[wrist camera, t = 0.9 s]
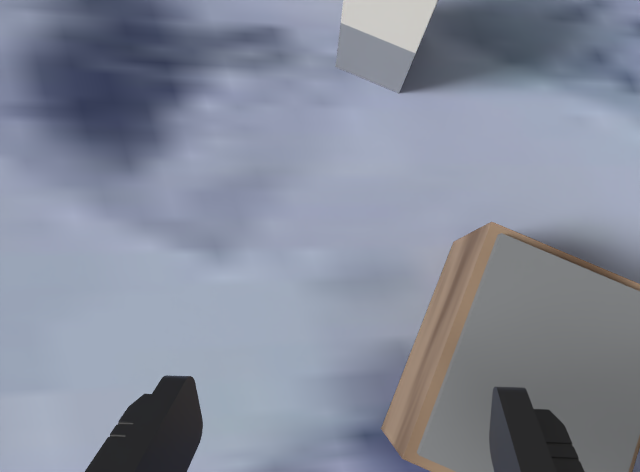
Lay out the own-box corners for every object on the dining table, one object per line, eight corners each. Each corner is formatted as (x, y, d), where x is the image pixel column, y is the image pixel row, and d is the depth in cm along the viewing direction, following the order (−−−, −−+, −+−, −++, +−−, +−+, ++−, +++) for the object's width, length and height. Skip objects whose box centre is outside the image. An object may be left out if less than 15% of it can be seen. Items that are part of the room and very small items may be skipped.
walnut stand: (381, 428, 29) (404, 461, 23) (453, 241, 31) (495, 219, 25) (541, 499, 29) (615, 555, 22) (604, 306, 31) (690, 301, 24)
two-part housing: (335, 67, 33) (348, -41, 23) (361, 10, 34) (384, -118, 24) (398, 93, 33) (439, -4, 23) (423, 35, 34) (473, -83, 24)
